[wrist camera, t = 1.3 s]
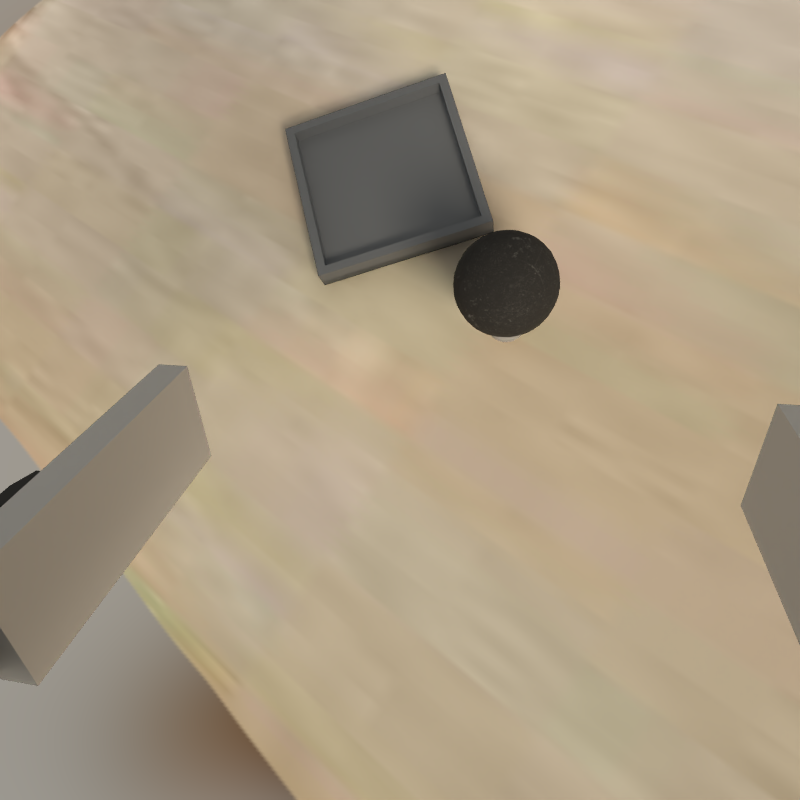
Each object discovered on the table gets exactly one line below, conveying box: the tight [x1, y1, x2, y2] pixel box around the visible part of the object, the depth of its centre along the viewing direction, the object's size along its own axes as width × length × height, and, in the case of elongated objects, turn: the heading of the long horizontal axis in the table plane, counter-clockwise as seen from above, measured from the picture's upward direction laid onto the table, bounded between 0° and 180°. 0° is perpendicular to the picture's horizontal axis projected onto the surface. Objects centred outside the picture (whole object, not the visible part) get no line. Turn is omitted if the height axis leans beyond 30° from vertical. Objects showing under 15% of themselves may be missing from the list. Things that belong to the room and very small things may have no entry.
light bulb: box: [453, 230, 560, 342], centre depth 33 cm, size 6×6×10 cm
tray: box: [285, 73, 493, 285], centre depth 41 cm, size 12×12×2 cm
